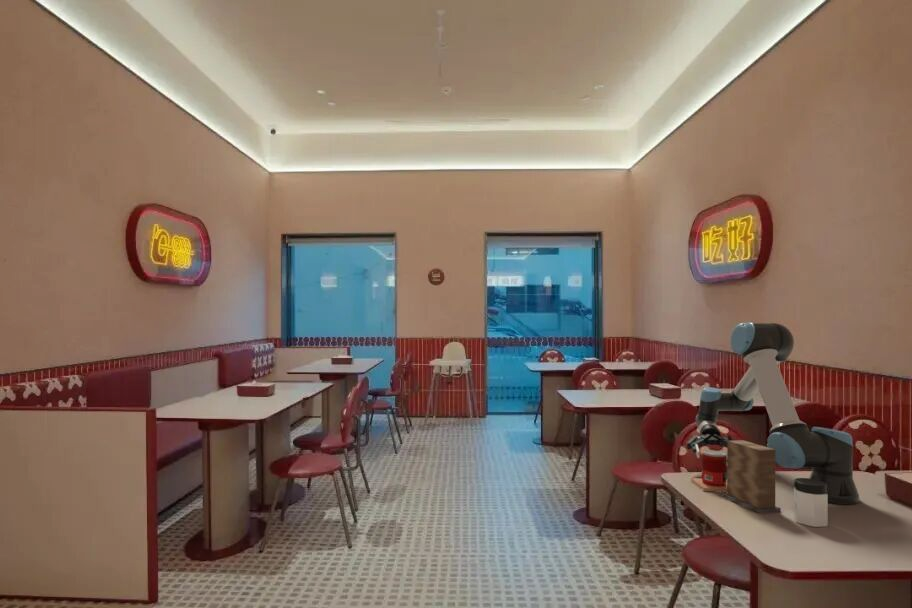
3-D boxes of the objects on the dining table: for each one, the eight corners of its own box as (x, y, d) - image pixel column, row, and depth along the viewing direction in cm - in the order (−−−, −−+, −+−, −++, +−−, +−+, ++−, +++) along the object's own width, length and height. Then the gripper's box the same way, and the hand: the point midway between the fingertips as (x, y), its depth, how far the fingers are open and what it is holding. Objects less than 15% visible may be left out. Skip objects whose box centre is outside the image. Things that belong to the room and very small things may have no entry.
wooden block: (722, 497, 188) (722, 440, 189) (742, 495, 190) (742, 439, 191) (759, 513, 173) (759, 451, 173) (780, 511, 175) (780, 450, 175)
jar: (791, 515, 172) (791, 476, 172) (822, 519, 169) (822, 479, 169) (797, 525, 163) (797, 483, 164) (830, 529, 160) (830, 487, 161)
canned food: (729, 487, 196) (729, 455, 196) (704, 485, 197) (704, 454, 197) (723, 481, 203) (723, 450, 203) (699, 479, 205) (699, 449, 205)
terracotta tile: (724, 482, 206) (724, 479, 206) (738, 492, 194) (738, 489, 194) (691, 481, 206) (691, 478, 206) (703, 491, 194) (703, 487, 194)
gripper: (743, 442, 226) (755, 466, 206) (677, 440, 233) (682, 463, 213) (743, 425, 225) (755, 447, 205) (676, 423, 232) (682, 444, 212)
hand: (718, 455), depth 209 cm, fingers open, 13 cm apart
